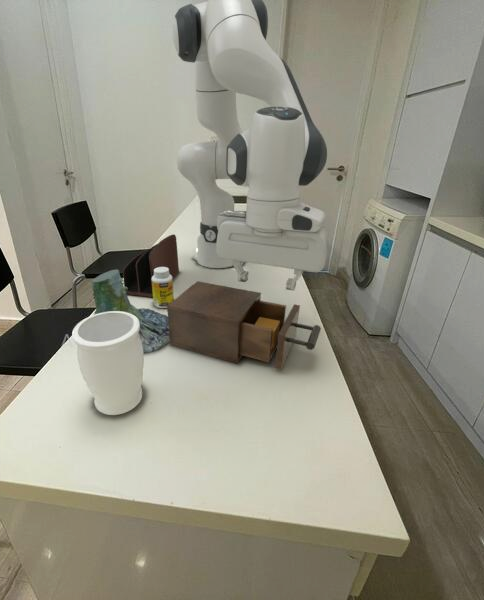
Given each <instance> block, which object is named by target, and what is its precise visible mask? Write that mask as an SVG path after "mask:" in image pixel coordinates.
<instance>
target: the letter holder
mask: <svg viewBox="0 0 484 600" xmlns="http://www.w3.org/2000/svg"><path fill="white" fill-rule="evenodd" d="M177 241H178V240H177V236H176V235H175V234H174V233H173V234H169V235H168V236H166V237H164V238H163V239H161V240H160V241H159V242H158V243H157V244H155V245H153V246H151V247H150V248H148V249H145V250H144V251H142V252H140V253H138V255H136V256H135V257H133V258H132V259H131V260H130V261H128V263H127V264H126V265H125V266H124V267H123V268H122V269H123V270H122V277H123V278H122V279H123V283H124V284H123V285H124V287H127V288H128V290H127V291H126V295H129V296H137V297H146V298H147V297H148V298H153V291H152V280H151V279H152V276H153V275H154V269H155V268H158V267H167V268H168V269H169V274H170V275H171V276H172V279H173V280H174V278H175V277H176V276H177V275H178V274H179V273H180V267H179V254H178V242H177Z"/></svg>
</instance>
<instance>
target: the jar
mask: <svg viewBox="0 0 484 600" xmlns="http://www.w3.org/2000/svg"><path fill="white" fill-rule="evenodd" d="M139 329H140V324H139V320H138V318H137V317H136V316H134V315H133V314H130V313H127V312H122V311H109V312H102V313H98V314H95V315H94V314H92V315H90V316H88V317H85V318H84V319H82V320H80V321H79V322H78V323H77V324H76V325H75V326H74V327H73V329H72V332H71V336H72V340H73V342H74V344H75V345H76V346H77V347H76V352H77V353H76V354H77V363H78V367H79V370H80V374H81V376H82V379H83V380H84V382H85V384H86V387H87V390H88V392H89V393H90V394H91V396H92V398H94V407H95V408H96V410H97V411H98V412H100V413H101V414H104V415H108V416H117V415H118V416H119V415H122V414H127V413H129V412H130V411H132V410H133V409H134V408H136V407H137V406H138V405H139V404H140V402H141V400H142V398H143V389H142V387H141V386H142V382H143V379H144V378H143V377H144V364H145V363H144V361H145V353H143V347H142V342H141V339H140V336H139V334H138V332H139Z"/></svg>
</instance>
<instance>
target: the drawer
mask: <svg viewBox="0 0 484 600" xmlns="http://www.w3.org/2000/svg"><path fill="white" fill-rule="evenodd" d="M300 307H301V305H300V304H296V303H295V304H293V306H292V308H291V309H290V311H289V313H288V315H287V316H286V313H287V305H285V304H280V303H275V302H271V301H264V300H258V301H257V302H256V303H255V305H254V306H253V307H252V309H251V310H250V311H249V313H248V314H247V315H246V317H245V318H244V319H243V320H242V322H241V323H240V341H239V355H242V357H247V358H250V359H254V360H257V361H261V362H266V363H270V362H271V359H272V358H273V356H274V354H275V352H276V354H275V363H274V364H275V365H274V369H276V370H279V371H281V370H282V369H283V367H284V365H285V362H286V360H287V358H288V355H289V353H290V351H291V348H292V347H293V344H294V345H300V346H304V347H306V349H307V350H309V351H313V350H315V348H316V344H317V341H318V338H319V335H320V333H321V330H322V328H321V326H320V325H318V324H315V325H307V324H302V323H298V322H299V316H300ZM259 317H263V318H268V319H273V320H278V321H280V328H279V334H278V341H277V343H276V345H275V347H274V349H273V350H272V349H271V345H272V334H273V329H271V328H266V327H262V326H257V325H255V323H256V321H257V320H258V318H259ZM298 328H299V329H304V330H307V331H310V333H309V336H308V339H307V341H304V340H300V339H296V337H297V330H298Z"/></svg>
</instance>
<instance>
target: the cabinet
mask: <svg viewBox="0 0 484 600" xmlns="http://www.w3.org/2000/svg"><path fill="white" fill-rule="evenodd" d="M258 300H260V301H262V292H258V291H254V290H248V289H244V288H243V289H241V288H237V287H231V286H226V285H220V284H215V283H209V282H204V281H200V280H199V281H198V280H197V281H196V282H194V283H193V284H192V285H191V286H189V288H187V289H185V291H183V292H182V293H181V294H180V295H178V296H177V297H176V298H174V301H172V302H171V303H170V304H169V305H167V308H166V309H167V317H168V324H169V337H170V342H169V345H170V346H173V347H177V348H180V349H184V350H187V351H191V352H195V353H197V354H202V355H204V356H208V357H212V358H216V359H219V360H223V361H226V362H229V363H233V364H238V363H239V362H240V360H241V358H242V357H243V355H239V341H240V323H241V322H242V320H243V319H244V318H245V317H246V315H247V314H248V313H249V311H250V310H251V309H252V307H253V306H254V305H255V303H256V302H257V301H258Z"/></svg>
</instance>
